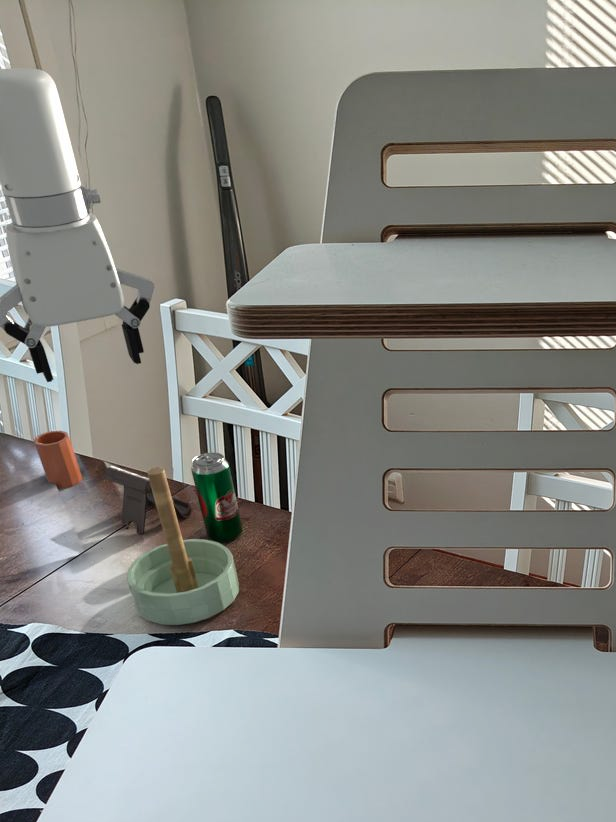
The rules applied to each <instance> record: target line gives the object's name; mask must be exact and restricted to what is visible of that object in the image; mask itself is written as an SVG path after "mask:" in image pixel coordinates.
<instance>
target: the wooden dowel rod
mask: <svg viewBox="0 0 616 822" xmlns="http://www.w3.org/2000/svg"><path fill="white" fill-rule="evenodd" d="M146 473H147V478H149V481H150V485H151V489H152V492H153V496H154V499H155V503H156V507H155V508H156V510H157V513H158V514H157V515H158V517H159V521H160V525H161V528H162V532H163V535H164V539H165V544H167V547H168V550H169V554H170V558H171V561H172V563H171V564H169V567H170V571H171V574H172V578H173V581H174V585H175V589H176V592H177V593H180V592H186V591H190V590H193V589H196V588H199V586H198V583H197V579H196V575H195V571H194V567H193V563H192V560H191V558H187V554H186V550H185V547H184V543H183V540H184V539H183V536H182V532H181V527H180V524H179V520H178V516H177V515H176V512H175V508H174V505H173V501H172V500H173V497H172V494H171V490H170V486H169V482H168V479H167V474H166V471H165V468H164V467H161V466H156V467H151V468H149V469H148V470H147V472H146Z"/></svg>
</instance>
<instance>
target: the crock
mask: <svg viewBox="0 0 616 822" xmlns="http://www.w3.org/2000/svg"><path fill="white" fill-rule="evenodd" d="M33 443H34V446H35V449H36V452H37V455H38V457H39V460H40V464H41V465H42V468H43V469H42V470H43V472H44V474H45V478H46V480H47V482H49V483H50V484H51V483H52V484H55V486H56V489H57V490H63V489H68V488H72V487H74V486H77V485H78V484H80V483H81V482H82V480H83V475H82V473H81V469H80V466H79V463H78V460H77V456H76V453H75V450H74V447H73V444H72V441H71V438H70V435H69V433H68V432H67V431H64V430H51V431H46V432H43V433H41V434H39V435H37V436H35V438H34V439H33Z"/></svg>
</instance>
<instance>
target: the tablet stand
mask: <svg viewBox="0 0 616 822" xmlns="http://www.w3.org/2000/svg"><path fill="white" fill-rule="evenodd" d="M104 477H105V479H106V480H108V481H109V482H112V483H115V484H118V485H121V486H123V494H122V495H123V496H122V509H121V523H120V524H122V525H125V526H127V527H125V529H127V530H129V528H130V524H131V523H134V524H135V526H136V534H139V535H144V534H145V530H146V517H147V516H146V515H147V506H151V507H154V508H157V507H156V503H155V499H154V496H153V492H152V489H151V485H150V481H149V478H148V477H146V476H142V475H139V474H137V473H134V472H131V471H128V470H126V469H122V468H119V467H117V466H114V465H110V466H108V467H106V468H105V471H104ZM172 501H173V505H174V508H175V512H176V516H177V517H179V518H183V519H187V518H189V517H190V516H191V514H192V506H191V504H190V502H188V501H186V500H183V499H181V498H178V497H172Z"/></svg>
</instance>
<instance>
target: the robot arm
mask: <svg viewBox="0 0 616 822" xmlns="http://www.w3.org/2000/svg"><path fill="white" fill-rule="evenodd" d="M72 146H73V145H72V142H71V138H70V134H69V130H68V126H67V122H66V119H65V114H64V111H63V107H62V103H61V99H60V95H59V92H58V88H57V85H56V82H55V80H54V79H53V78H52V77H51V75H50V74H49V73H48V72H46V71H45V70H42V69H39V68H33V67H32V68H31V67H13V68H12V67H10V68H9V67H8V68H1V69H0V187H1V189H2V193H3V197H4V200H5V204H6V207H7V211H8V213H9V216H10V219H11V223H8V224H6V226H5V234H6V236H5V237H6V243H7V249H8V254H9V259H10V263H11V267H12V268H11V269H12V272H13V276H14V280H15V283H16V284H15V285H14V286H13V287H12V288H9V290H7V291H6V292H5V293H4V294H2V296H0V328H1V329H2V330H3V331H4V332H5V333H6V335H8V336H10V337H12V338H13V339H14V340H17V341H19V342H20V343H22V344H23V345H25V346H26V347H27V348H28V351H29V354H30V357H31V360H32V363H33V367H34V369H35V372H36V374H37V375H38V374H43V376H44V378H45V381H46V383H52V382H53V381H54V376H53V372H52V370H51V367H50V363H49V359H48V356H47V353H46V350H45V346H44V345H43V342H42V341H41V337H42V335H43V333H44V332H45V329H46V328H49V327H57V326H63V325H68V324H73V323H80V322H85V321H89V320H95V319H100V318H105V317H110V316H114V315H115V316H116V317H118V319H120V320H121V321H122V324H121V325H120V326H121V329H122V333H123V337H124V341H125V344H126V349H127V354H128V356H129V358H130V360H131V361H132V362H133V364H135V365H139V364H142V360H141V355H140V354H143V353H145V350H144V346H143V342H142V337H141V334H140V330H139V327H140V326H141V323H142V320H143V319H144V317H145V315H146V314H147V313H148V312H149V309H150V307H151V305H150V304H151V301H152V298H153V294H154V289H155V283H154V282H153V281H152V280H151V279H150V278H147V277H145V276H141V275H138V274H134V273H131V272H129V271H125V270H121V269H119V268H116V266H115V261H114V259H113V256H112V253H111V250H110V247H109V245H108V243H107V240H106V237H105V234H104V231H103V230H102V227H101V225H100V222H99V220H98V218H97V216H96V214H94V213H91V212H90V210H91V207H92V206H94V205H96V204H101V198H100V194H99V191H98V189H97V188H96V189H90V188H86V187H84V186H82V183H81V178H80V174H79V171H78V166H77V162H76V157H75V154H74V150H73V147H72ZM121 285H123V286H126V287H130V288H132V289H133V288H134V289H137V297H136V298H135V299H134V301H133V302H132V304H131V306H130V307H128V306H126V305H125V296H124V292H123V289H122V286H121ZM20 303H21V305H22V307H23V310H24V312H25V314H26V315H27V316H28V318H27V321H26V323H25V324H24V326H22V325H20V324H19V323H17V322H15V321H13V320H12V319H11V318H10V317H9V315H7V314H8V312H10V311H11V310H12V309H13V308H14V307H17V305H18V304H20Z"/></svg>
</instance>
